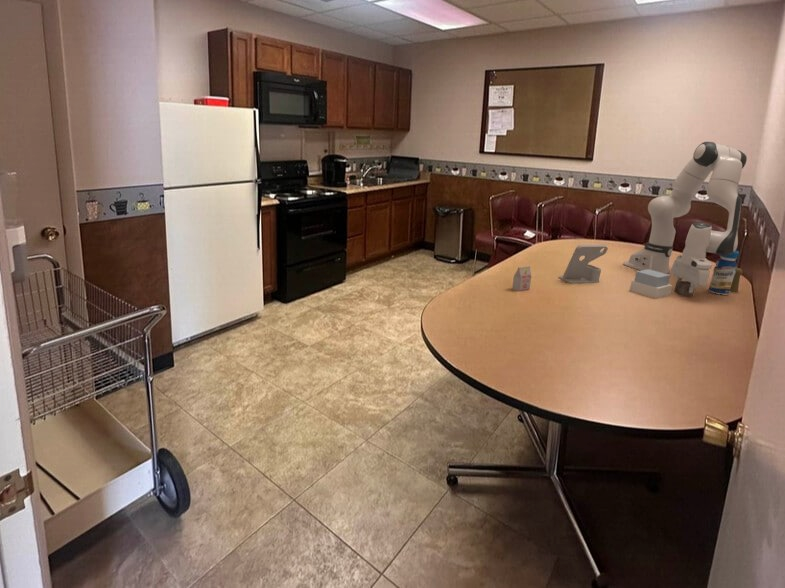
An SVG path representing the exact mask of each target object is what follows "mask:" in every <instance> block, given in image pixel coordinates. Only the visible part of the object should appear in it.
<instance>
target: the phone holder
mask: <svg viewBox="0 0 785 588" xmlns="http://www.w3.org/2000/svg"><path fill="white" fill-rule="evenodd" d="M602 249H603V250H602ZM607 252H608V247H607V245H605V244H579V245H577V246H576V247H575V249H574V251H573V253H572V256H571V258H570V260H569V262H568V264H567V266H566V268H565V271H564V273H563V275H558V278H557V279H559V280H562V281H563V282H566V283H568V284H572V285H573V284H597V283H598V284H599V283H600V281H601V280H600V276H601V274H602V273H601V272H602V269H601V268H600V267H598V266H595V265H592V264H589V263H591V262H593V261H595V260H596V259H598V258H600V257H602V256H605V254H607ZM581 257H584V258H583V259H581ZM580 259H581V260H580Z"/></svg>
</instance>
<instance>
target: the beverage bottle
mask: <svg viewBox="0 0 785 588" xmlns="http://www.w3.org/2000/svg"><path fill="white" fill-rule="evenodd" d="M739 254H740V251H738V250H737V249H736V250H735V252H734V253H732V254H730V255H727V256H722V255H719V257H720V258H718V259H717V261H715V266H714V268H713V270H712V275H711V279H710V283H709V285H708V292H710V293H711V294H712V293H713V294H715V293H716V295H720V294H722V296H727V295H729V294H730V292H729V291H730V288H731V284H732V281H733V278H734V275H735V273H736V271H735V269H736V268H738V264H737V261H736V260H737V259H738V257H739Z"/></svg>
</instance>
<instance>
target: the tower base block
mask: <svg viewBox="0 0 785 588" xmlns="http://www.w3.org/2000/svg"><path fill="white" fill-rule="evenodd" d="M672 289H673V285H672V284H669V283H668V285H665V286H661V287H653V286H649V285H646V284H642V283H639V282H635V281H634V280H631V282H630V287H629V291H630V292H632V293H635V294H638V295H641V296H645V297H649V298H652V299H655V300H657V299H660V298H664V297H669V296H671V292H672Z"/></svg>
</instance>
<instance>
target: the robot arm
mask: <svg viewBox="0 0 785 588" xmlns="http://www.w3.org/2000/svg"><path fill="white" fill-rule="evenodd" d="M746 163H747V155H746V154H745V153H743V152H742V151H741V150H737V149H735V148H734V147H731V146H729V145H724V144H721V143H720V144H719V143H716V142H714V141H704V142H702V143H700V144H699V145H698V146H697V147H696V148H695V150H694V151H693V157H692V158H691V159H690V160H689V161H688V162H687V163H686V165H685V166H684V167H683V168H682V170H681V172H680V173H679V174H678V176H677V177H676V178H675V180H673V189H672V191H671V193H670V194H669V195H661V196H658V197H655V198H653V199H651V200H650V202H649V203H648V205H647V211H648V214H649V215H650V219H651V229H650V230H651V231H650V235H649V240H648V242H644V243H643V244H642V245H643V248H641V249H640V250H638V251H636V252H633V253H631V254H630V256H629V258H628V260H627V261H624V262H623V266H627V267H629V268H632V269H635V270H637V271H642V270H647V269H650V270H653V271H657V272H661V273H665V274H669V273H671V274H670V275H673V276H675V277H676V282H677V281H688V282H690V283H691V284H690V285H691V287H690V288H688V290H687V292H689V293H693V290H694V289H695V290H696V288H697V287H706V285H707V284H708V281H709V279H710V272H711V271H710V270H711V269H712V267H713V264H712V263H711V262H710V261H709V260H708V259H707V258H706V256H707V253H711V254H716V255H719V256H720V255H722V256H727V255H730V254H732V253H734V252H735V250H736V251H737V248H738V245H739V236H738V235H739V229H740V222H741V215H742V207H743V206H742V205H743V200H742V197H741V196H740V195H739V194H738V186H739V185H740V184H739V183H740V180H741V176H742V171H743V169H744V167H745V166H746ZM710 174H711V175H710ZM709 175H710V178H709V180H708V184H707V186H706V194H707V197H708V199H709V200H711V201H712V202H713V203H715V204H717V205H718V206H720V207H722V208H724V209H726V210H727V211H728V218H727V219H728V221H727V226H726V230H725V231H718V230H712V229H713V227H712V225H711V224H710V223H707V222H700V221H699V222H694V223H692V224H691V226H690V228H689V230H688V233H687V235H686V239H685V244H684V245H685V247H684V248H683V250H682V254H680V255H678V256H676V258H675V259H674V261H673V264H672V266H671V269H670V259H671V256H672V252H673V249H674V245H673V244H674V240H675V236H676V231H677V230H676V229H675V228H676V227H674V218H681V217H683V216H685V215H687V214H688V213H689V212H690V210H691V206H692V205H691V202H692V200H693V198H694V196H695V194H696V193H697V191H698V190H699V189H700V187H702V185H703V184H704V182H705V181H706V179H707V178H708V177H709Z"/></svg>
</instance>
